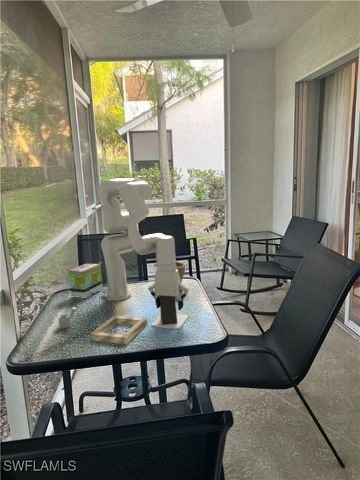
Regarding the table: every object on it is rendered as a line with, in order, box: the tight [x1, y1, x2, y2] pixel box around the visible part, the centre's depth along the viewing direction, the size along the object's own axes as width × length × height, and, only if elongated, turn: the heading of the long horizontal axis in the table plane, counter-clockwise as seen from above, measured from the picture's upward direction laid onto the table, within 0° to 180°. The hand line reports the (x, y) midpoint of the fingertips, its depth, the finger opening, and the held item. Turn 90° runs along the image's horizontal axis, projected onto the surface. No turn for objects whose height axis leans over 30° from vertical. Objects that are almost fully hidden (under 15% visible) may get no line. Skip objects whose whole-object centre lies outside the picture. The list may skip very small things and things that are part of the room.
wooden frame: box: [89, 315, 148, 345], centre depth 128 cm, size 15×17×2 cm
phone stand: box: [159, 296, 177, 325], centre depth 134 cm, size 9×6×12 cm, turn 7°
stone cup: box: [176, 261, 186, 292], centre depth 172 cm, size 15×12×15 cm
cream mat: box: [150, 313, 190, 330], centre depth 135 cm, size 12×12×1 cm
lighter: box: [58, 306, 77, 329], centre depth 136 cm, size 7×2×8 cm, turn 100°
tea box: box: [68, 263, 103, 298], centre depth 175 cm, size 15×10×15 cm, turn 160°
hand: (169, 308), depth 134 cm, fingers open, 9 cm apart
